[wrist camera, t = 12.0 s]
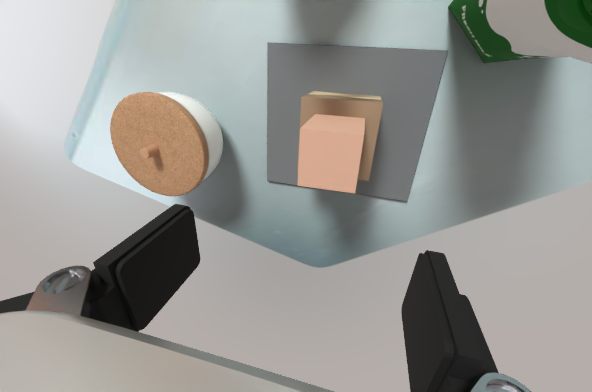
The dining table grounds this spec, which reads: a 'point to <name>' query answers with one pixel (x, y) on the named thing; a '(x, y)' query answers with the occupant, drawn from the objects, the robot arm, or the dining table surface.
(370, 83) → the rubber mat
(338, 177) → the terracotta block
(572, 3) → the milk carton
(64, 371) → the robot arm
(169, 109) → the lidded bowl
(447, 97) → the dining table surface
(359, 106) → the walnut slab
